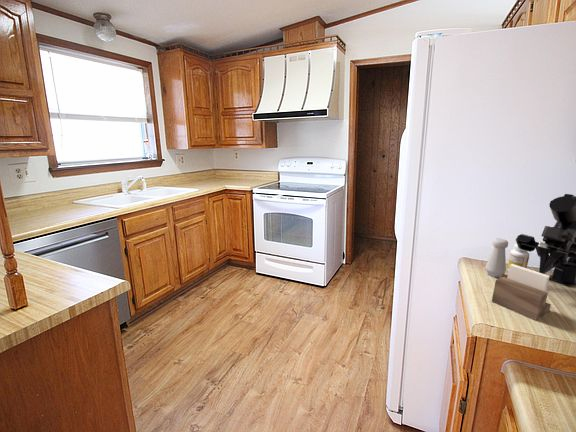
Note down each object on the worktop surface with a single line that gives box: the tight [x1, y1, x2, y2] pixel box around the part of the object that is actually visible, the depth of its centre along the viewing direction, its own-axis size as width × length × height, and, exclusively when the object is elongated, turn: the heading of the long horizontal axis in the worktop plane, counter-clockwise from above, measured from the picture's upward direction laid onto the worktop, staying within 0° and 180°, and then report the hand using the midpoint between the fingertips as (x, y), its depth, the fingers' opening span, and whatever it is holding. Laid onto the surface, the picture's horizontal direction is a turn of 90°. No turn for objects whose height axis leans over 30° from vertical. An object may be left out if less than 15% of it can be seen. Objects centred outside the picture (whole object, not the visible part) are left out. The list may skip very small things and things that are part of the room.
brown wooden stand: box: [491, 276, 552, 321], centre depth 88 cm, size 8×11×7 cm
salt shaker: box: [485, 238, 509, 279], centre depth 106 cm, size 6×6×13 cm
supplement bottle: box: [506, 243, 530, 272], centre depth 109 cm, size 5×5×10 cm
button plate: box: [506, 264, 550, 292], centre depth 88 cm, size 2×9×8 cm, turn 32°
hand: (540, 273), depth 92 cm, fingers closed
